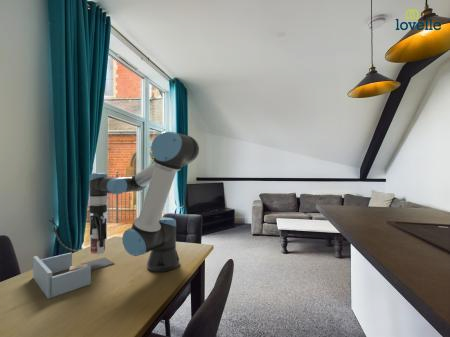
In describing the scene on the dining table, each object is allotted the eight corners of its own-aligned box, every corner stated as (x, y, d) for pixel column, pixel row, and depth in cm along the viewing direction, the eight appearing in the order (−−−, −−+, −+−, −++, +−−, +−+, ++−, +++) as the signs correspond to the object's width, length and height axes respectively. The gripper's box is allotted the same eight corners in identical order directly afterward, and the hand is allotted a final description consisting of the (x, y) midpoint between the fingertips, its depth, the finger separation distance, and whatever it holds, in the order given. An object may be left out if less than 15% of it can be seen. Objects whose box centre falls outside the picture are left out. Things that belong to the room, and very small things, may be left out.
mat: (114, 264, 112) (114, 262, 112) (89, 271, 104) (89, 270, 104) (104, 258, 119) (104, 257, 119) (81, 264, 111) (81, 263, 111)
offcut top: (87, 268, 103) (87, 263, 103) (87, 271, 100) (87, 266, 100) (70, 271, 100) (70, 266, 100) (69, 274, 97) (69, 269, 97)
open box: (90, 283, 93) (90, 261, 93) (47, 298, 82) (48, 273, 82) (71, 267, 108) (71, 248, 108) (33, 277, 98) (33, 256, 98)
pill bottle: (97, 255, 108) (97, 231, 108) (87, 253, 110) (87, 230, 110) (107, 250, 114) (108, 228, 114) (98, 249, 116) (98, 226, 116)
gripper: (114, 205, 108) (114, 254, 108) (98, 201, 121) (97, 245, 121) (98, 207, 103) (97, 259, 103) (82, 203, 115) (82, 249, 115)
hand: (97, 251), depth 112 cm, fingers closed on pill bottle, 6 cm apart
